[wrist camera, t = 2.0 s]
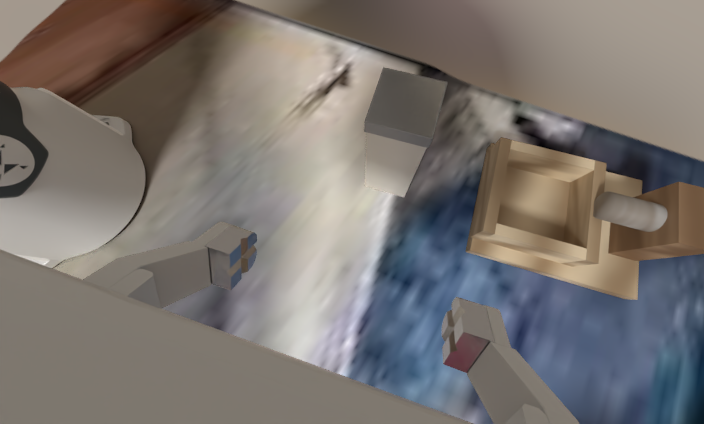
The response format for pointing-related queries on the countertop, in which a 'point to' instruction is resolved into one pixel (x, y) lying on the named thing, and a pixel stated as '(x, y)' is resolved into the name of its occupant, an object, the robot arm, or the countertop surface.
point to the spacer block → (400, 128)
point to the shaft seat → (579, 218)
